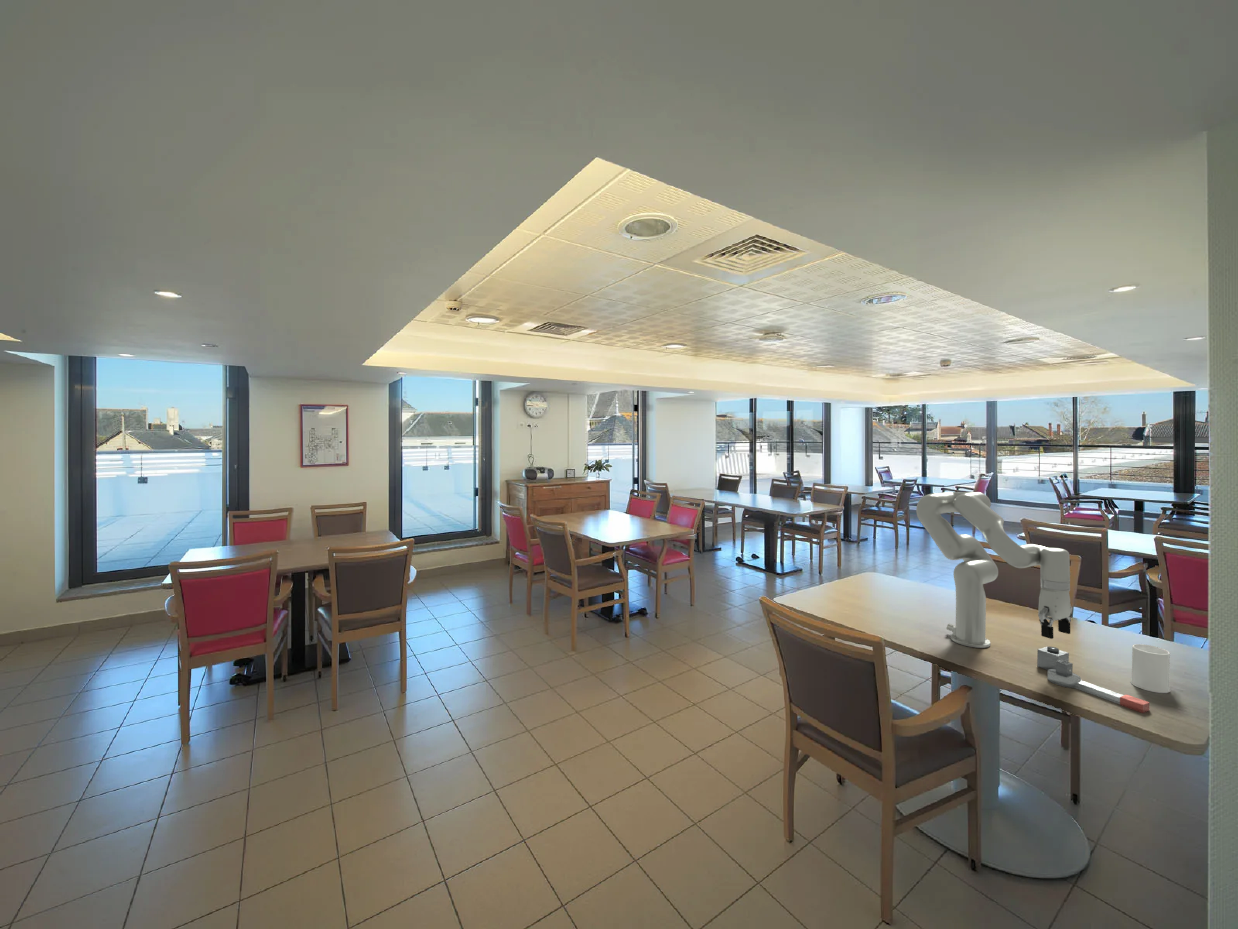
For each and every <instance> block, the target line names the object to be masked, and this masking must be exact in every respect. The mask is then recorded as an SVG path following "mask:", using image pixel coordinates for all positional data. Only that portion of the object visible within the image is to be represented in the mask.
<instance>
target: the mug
mask: <svg viewBox="0 0 1238 929" xmlns="http://www.w3.org/2000/svg"><path fill="white" fill-rule="evenodd" d="M1131 647H1132V648H1131V653H1132V654H1131V677H1130V678H1131V679H1130V683H1131V685H1133V686H1135V687H1136V688H1139V689H1142V690H1144V691H1148V692H1151V693H1159V694H1168V693H1170V692H1171V688H1170V667H1171V666H1170V664H1171V662H1170V661H1171V660H1170V658H1171V653H1170V651H1169V650H1167V649H1164V648H1162V647H1159V646H1154V645H1149V644H1142V643H1141V644H1140V643H1136V644H1133V645H1132V646H1131Z"/></svg>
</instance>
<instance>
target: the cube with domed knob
mask: <svg viewBox="0 0 1238 929" xmlns="http://www.w3.org/2000/svg"><path fill="white" fill-rule="evenodd" d="M1069 656H1070V653H1069V652H1067V651H1065V650H1064V651H1063V650H1060V649H1059V648H1058V647H1055V646H1045V647H1042V648H1037V658H1036V659H1037V660H1036V661H1037V662H1036V664H1037V665H1036V666H1037V667H1038V668H1041V669H1043V670H1046V671H1048V670H1049V669H1056V661H1059V660H1064V661H1067V662H1070V659H1069Z"/></svg>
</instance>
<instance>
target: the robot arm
mask: <svg viewBox="0 0 1238 929" xmlns="http://www.w3.org/2000/svg"><path fill="white" fill-rule="evenodd" d="M991 506H992V502H991V500H990V498H989V497H988V495H986V494H984V493H983V492H980V491H971V492H970V491H967V492H966V491H965V492H964V491H944V492H935V493H929V494H926V495H923V496H922V497H921V498H920V499H919V501H918V502H917V505H916V508H915V511H916V517H917V519H918V520H919V522H920V523H921V525H922V526H923V528H925V530H926V532H928V534H929V536H930V538H931V539H932V541H933V542H934V543H935V544H936V546H937V548H938V549H939V550H940V552H941V553H942V555H943V556H944V558H946V559H948V560H950V561H961V560H962V562H959V563H958V564H957V565H956V566H955V568H954V570H953V580H954V585H955V625H954V624H951V623H948V624H947V625H946V630H948V631H951V632H952V634H951V635H950V639H951V641H953V643H956V644H959V645H962V646H965V647H969V648H974V649H975V648H976V649H983V648H984V649H986V648H989V647H991V640H989V639H988V638H986V631H987V630H986V628H987V627H986V626H987V624H986V620H987V615H986V614H987V613H986V612H987V610H986V609H987V608H986V607H987V596H986V592H985V589H984V584H988V583H991V582H992V583H993V582H994V581H995V580H996V579H997V578H998V576H999V568H998V566H997V564H996V563H995V561H994V559H993V558H992V557H991V556H990V554H989V553H988V552H987V550H986V549H985V548H984V546H983V544H982V543H981V542H980V541H979V540H978V539H977V538H975V537H974V536H972V535H971V534H967V533H966V534H964V533H962V534H958V532H957V531H956V530H955V529H954V528H953V526H952V524H951V523H950V522H949V521H948V520H947V519H946V518H944V517H943V516H942V514H949V513H959V515H961V516H962V517H963V518H964V519H966V520H967V521H968V522H969V523H970V524H971V525H972V526H974V527H975V528H976V529H978V531H979V532H980V533H982V535H983V537H984V539H985V540H986V542H987V544H988V546H989V547H990V548H991V550H992V551H993V552H994V553H995V554H996V555H998V557H999V558H1001V559H1002V560H1003V561H1004V562H1006V563H1007V564H1008V565H1010V566H1012V567H1014V568H1017V569H1027V568H1029V567H1036V566H1039V567H1040V590H1039V597H1038V621H1039V623H1040V630H1041V634H1040V635H1041V636H1042V637H1044V638H1046V639H1047V638H1048V639H1049V640H1053V639H1054V627H1053V624H1054V622H1055V621H1057V622H1058V623H1057V630H1058V632H1060V633H1063V634H1066V635H1070V634H1071V622H1072V619H1071V617H1072V612H1073V607H1072V606H1071V605H1072V604H1071V596H1070V592H1071V568H1070V567H1071V564H1070V563H1071V562H1070V558H1071V556H1070V552H1069V551H1068V550H1066V549H1064V548H1059V547H1048V546H1047V547H1046V546H1043V545H1038V544H1034V543H1027V544H1018V543H1017V542H1016V541H1014V540H1013V539H1012V538H1011V537H1010V536H1009V535H1008V534H1007V533H1006V531H1005V530H1004V523H1005V521H1004V517H1002V516H1001V515H1000V514H998V513H997V512H996V511H995V510H993V509H992V508H991Z"/></svg>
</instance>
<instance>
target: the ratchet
mask: <svg viewBox="0 0 1238 929" xmlns="http://www.w3.org/2000/svg"><path fill="white" fill-rule="evenodd" d="M1073 664H1074V663H1072V662H1070V661H1069V662H1067V661H1064V660H1059V661H1056V669H1049V670H1047V680H1048V681H1049V682H1051V684H1054V685H1056V684H1057V686H1060V687H1064V688H1069V689H1077V690H1078V691H1081V692H1084V693H1088V694H1090V695H1093V696H1095V697H1098V698H1101V699H1103V700H1105V701H1109V702H1111V703H1115V704H1118V705H1119V706H1122V707H1125V708H1127V709H1130V710H1132V711H1136V712H1138V713H1141V714H1144V713H1147V712H1149V711H1150V702H1149V701H1146V700H1145V699H1140V698H1138V697H1135V696H1131V695H1129V694H1122V693H1118V692H1116V691H1113V690H1110V689H1107V688H1105V687H1102V686H1098V685H1096V684H1093V683H1090V682H1088V681H1084V680H1082V677H1081V676H1080V675H1078V674H1077V673H1074V672H1073Z"/></svg>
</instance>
